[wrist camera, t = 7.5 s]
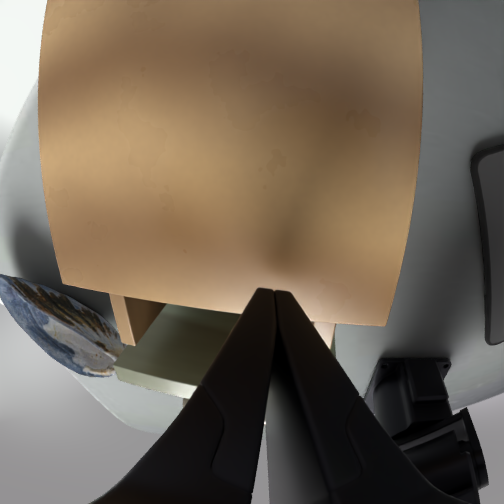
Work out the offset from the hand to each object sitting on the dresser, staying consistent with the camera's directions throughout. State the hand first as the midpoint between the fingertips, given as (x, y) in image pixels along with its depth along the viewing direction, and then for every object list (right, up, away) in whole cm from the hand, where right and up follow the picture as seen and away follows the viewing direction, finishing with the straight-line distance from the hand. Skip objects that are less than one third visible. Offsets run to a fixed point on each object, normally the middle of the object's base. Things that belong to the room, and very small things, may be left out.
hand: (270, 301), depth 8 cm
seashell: (-17, -3, +17) cm, 25 cm away
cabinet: (0, +10, +8) cm, 12 cm away
